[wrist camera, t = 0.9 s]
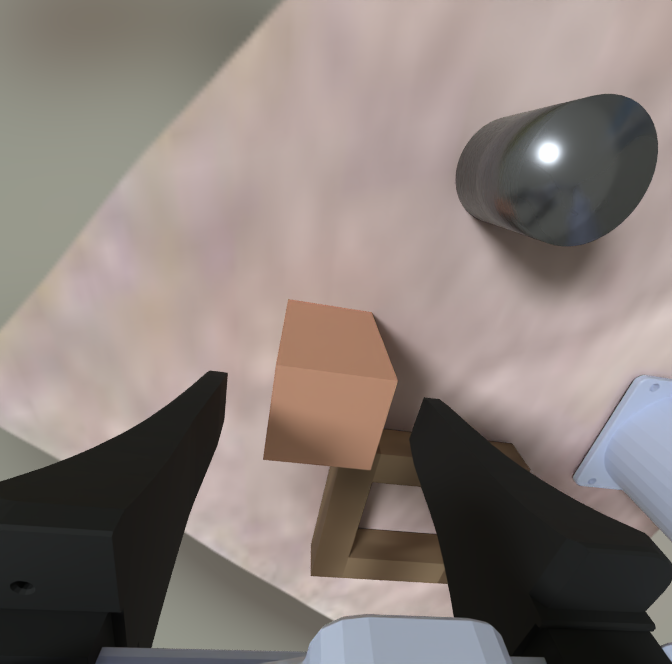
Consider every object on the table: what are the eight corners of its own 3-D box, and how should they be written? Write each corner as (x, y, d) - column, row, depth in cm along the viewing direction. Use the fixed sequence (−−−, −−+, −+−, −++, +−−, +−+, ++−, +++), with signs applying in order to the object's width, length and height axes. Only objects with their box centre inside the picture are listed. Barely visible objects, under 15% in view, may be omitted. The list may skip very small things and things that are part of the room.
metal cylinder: (568, 128, 14) (687, 112, 10) (527, 230, 16) (612, 256, 11) (475, 105, 14) (554, 77, 9) (443, 213, 15) (496, 233, 11)
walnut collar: (511, 443, 21) (530, 469, 19) (455, 555, 26) (466, 584, 24) (340, 424, 20) (342, 450, 18) (310, 545, 24) (310, 575, 22)
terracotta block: (371, 312, 17) (397, 381, 12) (354, 381, 19) (370, 470, 13) (288, 299, 17) (276, 365, 11) (277, 371, 18) (263, 459, 13)
